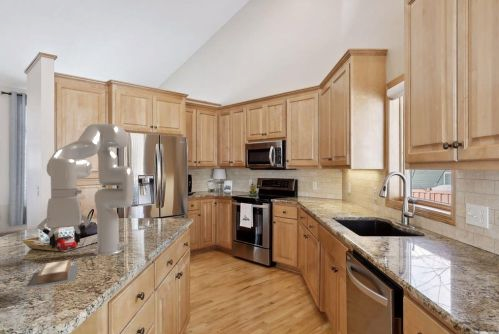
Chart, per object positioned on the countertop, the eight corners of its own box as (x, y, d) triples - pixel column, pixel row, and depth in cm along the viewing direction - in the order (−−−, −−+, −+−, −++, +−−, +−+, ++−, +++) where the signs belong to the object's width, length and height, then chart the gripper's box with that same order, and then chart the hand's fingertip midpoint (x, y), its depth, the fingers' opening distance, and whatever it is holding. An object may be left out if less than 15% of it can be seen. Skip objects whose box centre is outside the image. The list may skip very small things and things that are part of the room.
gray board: (78, 266, 121) (78, 264, 121) (75, 282, 105) (75, 280, 105) (37, 272, 115) (37, 270, 115) (27, 290, 98) (27, 288, 98)
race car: (52, 245, 102) (52, 234, 102) (70, 242, 106) (70, 231, 106) (58, 253, 92) (58, 241, 92) (78, 250, 96) (77, 238, 96)
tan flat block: (70, 267, 118) (70, 259, 118) (67, 279, 105) (67, 270, 105) (44, 271, 114) (44, 263, 114) (37, 284, 101) (37, 275, 101)
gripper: (92, 191, 106) (93, 240, 106) (35, 194, 98) (36, 247, 98) (92, 193, 99) (93, 245, 100) (30, 196, 91) (32, 253, 91)
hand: (65, 245), depth 99 cm, fingers closed on race car, 6 cm apart
